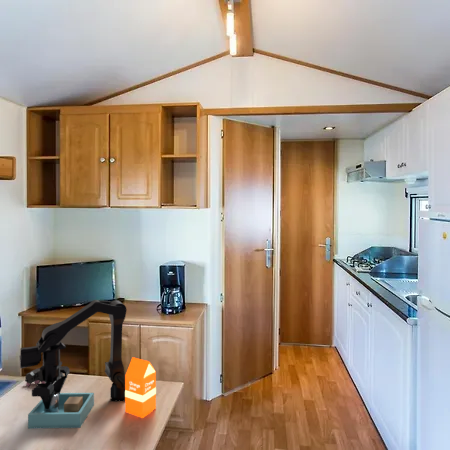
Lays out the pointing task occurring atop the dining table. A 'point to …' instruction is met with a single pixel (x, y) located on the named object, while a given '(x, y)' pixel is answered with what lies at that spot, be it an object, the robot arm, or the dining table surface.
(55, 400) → the steel cylinder
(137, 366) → the orange juice
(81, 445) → the dining table surface
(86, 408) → the tote
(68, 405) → the walnut cube
